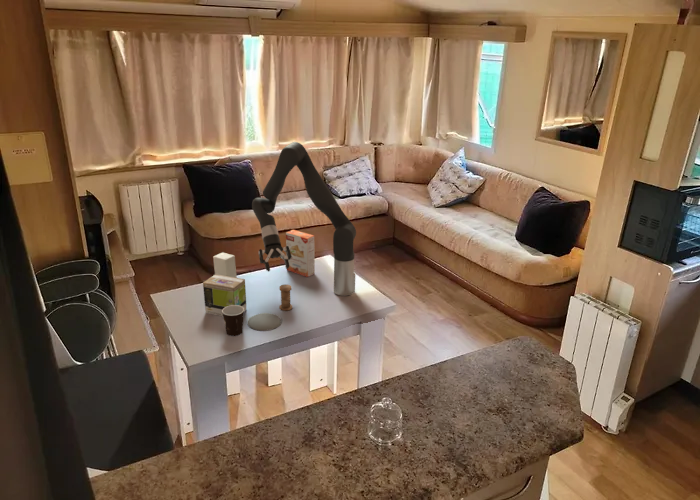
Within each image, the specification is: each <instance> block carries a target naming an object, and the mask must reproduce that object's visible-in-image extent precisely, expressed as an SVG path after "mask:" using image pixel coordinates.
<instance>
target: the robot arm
mask: <svg viewBox="0 0 700 500" xmlns="http://www.w3.org/2000/svg"><path fill="white" fill-rule="evenodd" d="M278 156H279V157H278V159H277V162H276V165H275V168H274V171H273V173H272V174H271V177H270V178H269V180H268V182H267V183H266V185H265V186H264V189H263V190H262V195H263V197H255V198H254V199H252V203H251V209H252V212H253V213H254V215H255V217H256V219H257V221H258V222H259V226H260V230H261V231H260V232H261V239H262V241H263V245H264V249H261V248H260V249H259V250H258V256H259V257H258V258H259V263H260V264H264V268H265V270H266V271H267V272H270V271H271V268H270V263H269V260H270V259H279V258H280V259H281V260H283V261H284V266H285V269H286V270H287V269H288V268H289V261H288V260H290V259H291V257H292V256H291V253H290V249H289V246H284V247H283V246H282V243H281V240H280V235H279V230H278V228H277V224H276V220H275V217H274V216H273V215H271V213H273V212H274V210H275V208H276V203H277V201H278V200H277V199H278V197H279V195H280V193H281V191H282V190H283V188H284V186H285V182H286V179H287V177H288V175H289V174H290V172H291V171H292V170H293V169H294V168H295V167H297V168H298V169H299V171H300V173H301V175H302V178H303V182H304V187H305V190H306V193H307V195H308V197H309V199H310V200H311V202H312V204H313V205H314V206H315V208H317V210H319V211H320V212H321V213H322V214H324V215H325V216H326V217H327V218H328V219H329V220H330V222H331V224H332V226H333V228H334V232H333V237H332V242H333V243H332V245H333V249H332V250H333V251H332V252H333V257H334V258H333V261H334V265H333V293H334V294H336V295H338V296H341V297H344V296H350V295H352V294H355V293H356V273H355V252H354V240H355V239H356V236H357V229H356V227H355V226H354V224H353V223H352V221H351V220H350V219H349V218H348V216H347V215H346V214H345V212H344V211H343V210H342V209H341V207H340V205H339V203H338V201H337V199H335V197H334V196H333V193H332V192H331V189H329V187H328V186H327V184H326V182H325V181H324V179H323V178H322V176H321V175H320V173H319V171H318V170H317V168H316V166H315V165H314V163H313V161H312V159H311V156H310V155H309V153H308V151H307V149H306V148H305V146H304V145H303V144H301V143H300V142H298V141H294V142H293V141H292V142H291V143H289V144H288V145H285V147H282V149H281V152H280V154H279V155H278ZM283 251H284V252H285V253H284V252H283ZM264 254H265V255H267V256H266V258H265V259H264ZM286 254H287V256H286Z"/></svg>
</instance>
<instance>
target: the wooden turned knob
mask: <svg viewBox="0 0 700 500" xmlns="http://www.w3.org/2000/svg"><path fill="white" fill-rule="evenodd" d="M292 288H293V287H292V285H290V284H281V285H280V286H279V288H278V289H279V291H280V303H281V304H280V305H279V310H280V311H283V312H284V311H285V312H288V311H291V310H293V305H292V304H291V290H292Z"/></svg>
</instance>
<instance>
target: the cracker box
mask: <svg viewBox="0 0 700 500" xmlns="http://www.w3.org/2000/svg"><path fill="white" fill-rule="evenodd" d="M315 236H316V235H313V234H311V233H307V232H304V231H301V230H300V231H299V230H296V229H291V230H289V231H286V232H285V245H286V246H289V249H290V253H291V256H292V257H291V259H290V260H288V261H289V268H288V269H286V271H289V272H292V273H295V274H298V275H300V276H303V277H306V278H309V277H311V276H312V275H314V274H315V273H316V272H315V263H316V262H315V258H316V257H315V256H316V255H315V251H316V250H315V239H316V238H315ZM286 246H285V247H286ZM285 255H286V256H287V254H286V253H285Z"/></svg>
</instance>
